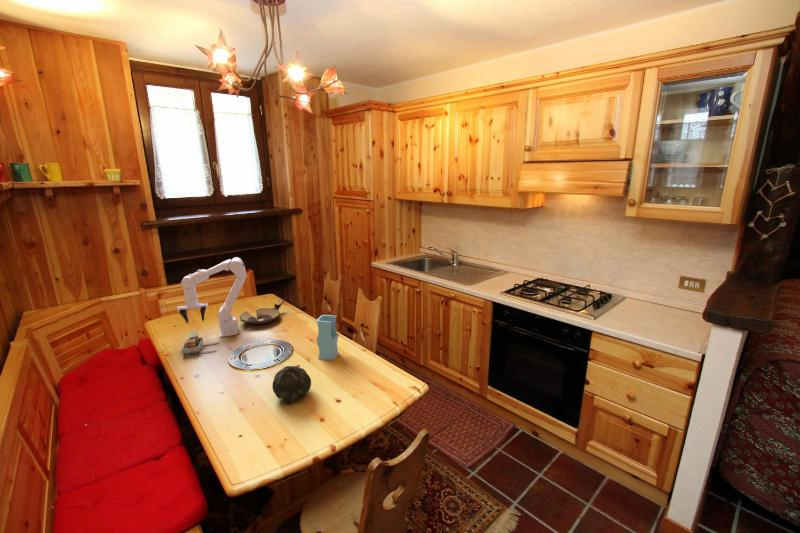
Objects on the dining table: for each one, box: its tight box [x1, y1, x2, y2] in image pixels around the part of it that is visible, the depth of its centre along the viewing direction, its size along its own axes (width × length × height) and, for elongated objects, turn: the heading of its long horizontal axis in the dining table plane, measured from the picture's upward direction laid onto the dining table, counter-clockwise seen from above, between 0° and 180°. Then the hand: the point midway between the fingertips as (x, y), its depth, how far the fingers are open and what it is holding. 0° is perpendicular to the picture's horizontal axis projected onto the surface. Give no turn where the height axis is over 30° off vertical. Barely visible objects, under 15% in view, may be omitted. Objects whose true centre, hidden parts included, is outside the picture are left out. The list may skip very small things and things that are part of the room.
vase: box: [316, 314, 339, 361], centre depth 177 cm, size 8×8×20 cm
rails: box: [182, 341, 220, 358], centre depth 188 cm, size 15×10×1 cm
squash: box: [271, 365, 312, 404], centre depth 147 cm, size 14×15×15 cm
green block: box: [187, 331, 200, 343], centre depth 187 cm, size 4×4×4 cm
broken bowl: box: [239, 299, 284, 325], centre depth 222 cm, size 22×30×8 cm
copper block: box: [184, 338, 197, 348], centre depth 183 cm, size 4×4×4 cm
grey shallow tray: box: [180, 337, 204, 356], centre depth 186 cm, size 8×11×4 cm
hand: (195, 321), depth 199 cm, fingers open, 7 cm apart
